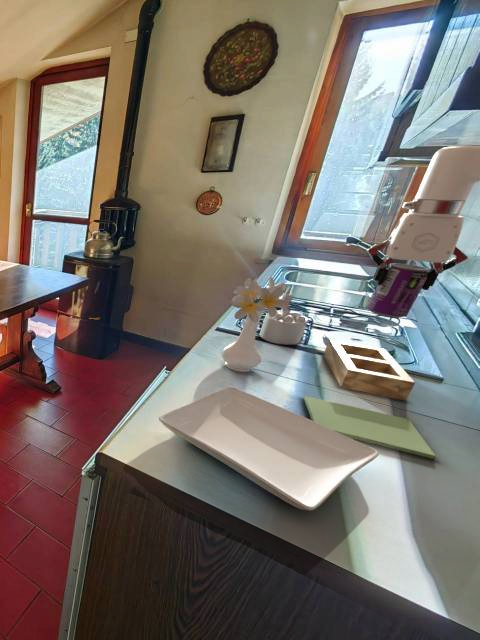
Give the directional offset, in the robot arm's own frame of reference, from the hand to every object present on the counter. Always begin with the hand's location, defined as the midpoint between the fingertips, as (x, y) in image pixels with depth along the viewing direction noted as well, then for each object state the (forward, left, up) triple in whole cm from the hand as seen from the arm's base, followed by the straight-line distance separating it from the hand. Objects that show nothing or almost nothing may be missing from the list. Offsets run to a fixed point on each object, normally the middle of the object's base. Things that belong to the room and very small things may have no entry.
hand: (400, 285), depth 93 cm
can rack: (-1, -4, -26) cm, 26 cm away
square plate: (+25, +47, -26) cm, 59 cm away
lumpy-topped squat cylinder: (+15, -24, -26) cm, 38 cm away
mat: (+5, +26, -26) cm, 37 cm away
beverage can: (0, 0, -8) cm, 8 cm away
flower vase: (+27, +9, -26) cm, 38 cm away
